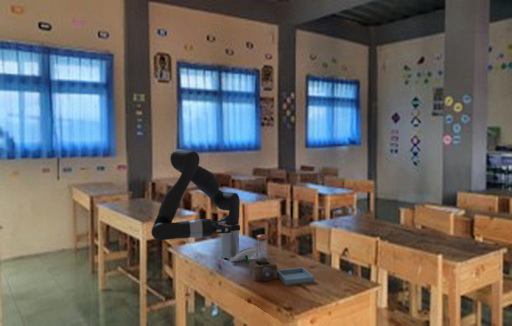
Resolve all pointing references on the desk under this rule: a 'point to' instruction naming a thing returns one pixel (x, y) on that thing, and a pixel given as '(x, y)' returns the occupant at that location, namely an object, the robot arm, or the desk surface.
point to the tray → (295, 276)
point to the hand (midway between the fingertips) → (237, 225)
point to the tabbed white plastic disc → (243, 255)
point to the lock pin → (262, 249)
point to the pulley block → (263, 270)
